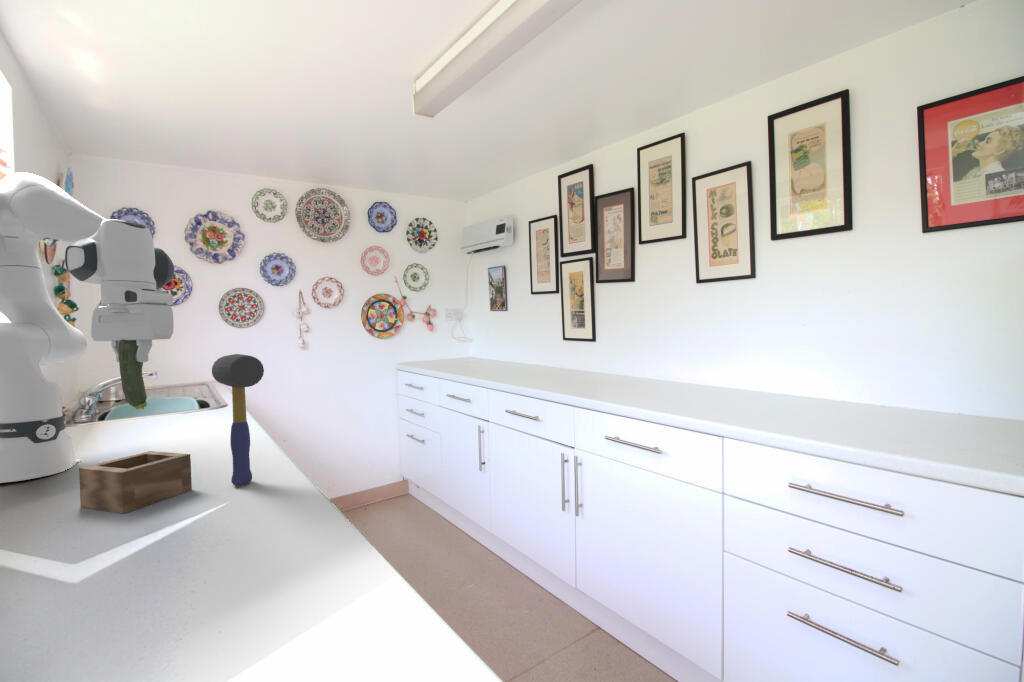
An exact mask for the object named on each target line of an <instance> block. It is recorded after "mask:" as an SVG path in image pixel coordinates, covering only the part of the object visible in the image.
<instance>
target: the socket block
mask: <svg viewBox="0 0 1024 682" xmlns="http://www.w3.org/2000/svg"><path fill="white" fill-rule="evenodd" d="M191 460H192V459H191V454H190V453H181V452H180V453H178V452H170V451H169V452H168V451H167V452H166V451H153V450H150V451H149V450H148V451H144V452H141V453H137V454H132V455H128V456H124V457H119V458H116V459H113V460H112V459H111V460H107V461H103V462H100V463H95V464H91V465H87V466H83V467H79V468H78V474H79V475H78V476H79V496H80V497H79V499H80V508H83V509H89V510H95V511H105V512H111V513H117V514H126V513H130V512H132V511H134V510H138V509H141V508H144V507H146V506H149V505H153V504H155V503H158V502H161V501H164V500H167V499H169V498H173V497H175V496H178V495H181V494H184V493H187V492H190V491H192V490H193V487H192V466H191V465H192V464H191V463H192V462H191Z"/></svg>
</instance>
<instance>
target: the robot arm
mask: <svg viewBox="0 0 1024 682" xmlns="http://www.w3.org/2000/svg"><path fill="white" fill-rule="evenodd" d="M152 236H153V235H152V233H151V229H149V228H148V227H147V226H146V225H143V224H140V223H135V222H131V221H127V220H120V219H115V218H108V219H107V218H105V217H103V216H102V215H100V214H98V213H96V212H94V211H92V210H91V209H89V208H88V207H86V206H84V205H83V204H82V203H80V202H79V201H78V200H76V199H75V198H74V197H72V196H70V195H69V194H68V193H67V192H65V190H64V189H62V188H61V187H59V186H58V185H56V184H55V183H53V182H52V181H50V180H48V179H46V178H45V177H42V176H39V175H36V174H34V173H29V172H14V173H10V174H8V175H6V176H4V177H3V179H1V180H0V313H1V314H3V315H4V316H5V317H6V318H7V319H8V320H9V321H10V322H0V484H3V483H4V484H5V483H12V482H13V483H14V482H19V481H26V480H31V479H37V478H42V477H47V476H52V475H56V474H59V473H63V472H66V471H68V470H67V469H69V468H71V467H72V466H73V465H74V464H75V463H77V462H79V463H81V462H80V461H82V460H81V459H80V458H78V459H76V456H75V455H76V454H75V449H74V441H73V437H72V434H69V433H68V432H66V431H65V429H66V428H67V427H66V426H67V421H66V416H65V415H63V398H62V395H63V394H62V389H61V387H60V386H59V385H58V384H57V383H56V382H53V381H51V380H49V379H47V378H46V377H45V375H44V373H42V370H41V368H40V367H41V366H45V365H58V364H63V363H67V362H70V361H73V360H74V361H75V360H77V359H79V358H80V357H82V356H83V355H84V354H85V352H86V350H87V348H88V347H87V345H88V343H87V342H88V341H87V338H86V336H85V334H84V333H83V332H82V331H81V330H80V329H78V328H77V327H74V325H71V324H70V323H69V322H68V321H67V320H66V319H65V318H64V317H63V315H62V314H61V313H60V312H59V310H58V309H57V308H56V306H55V305H54V303H53V301H52V298H51V296H50V293H49V290H48V287H47V282H46V279H45V275H44V271H43V266H42V264H41V260H40V257H39V254H38V245H39V243H40V242H41V241H43V242H44V243H45V244H46V245H47V246H53V245H55V244H56V242H59V241H60V242H61V241H62V242H68V243H71V244H69V245H67V247H66V249H65V251H64V252H65V253H64V261H65V262H64V263H65V267H66V268H65V269H66V270H67V272H68V273H70V275H71V276H73V277H74V278H75V279H76V280H78V281H79V282H85V283H89V284H95V285H100V298H101V299H100V301H99V302H98V304H96V307H95V308H94V309H93V311H92V315H91V330H90V334H91V335H90V336H91V338H92V340H93V341H94V342H111V348H112V350H113V351H114V354H115V359H116V360H115V361H116V362H117V363H119V352H118V348H119V342H120V340H136V343H137V346H138V350H137V354H134V358H135V359H134V361H135V362H143V363H146V362H148V361H149V353H150V351H151V348H152V346H153V340H158V341H159V340H171V338H172V337H173V334H174V327H175V326H174V312H173V308H172V306H171V305H173V304H174V296H173V294H171V293H169V292H166V291H163V290H160V289H161V288H163V287H165V286H166V285H168V284H169V283H170V282H171V281H172V279H173V278H174V275H175V265H174V263H173V261H172V259H171V258H170V256H169V254H167V253H166V252H165V250H163V249H162V248H159V247H155V245H154V240H153V237H152ZM77 464H78V463H77ZM75 465H76V464H75ZM75 465H74V466H75ZM71 469H72V468H71ZM65 470H66V471H65ZM69 470H70V469H69Z"/></svg>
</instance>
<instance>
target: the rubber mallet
mask: <svg viewBox="0 0 1024 682" xmlns="http://www.w3.org/2000/svg"><path fill="white" fill-rule="evenodd" d="M264 373H265V368H264V364H263V363H262V361H261V360H260V359H258V358H257V357H255V356H253V355H247V354H242V353H241V354H240V353H234V354H229V355H224V356H221V357H219V358H217V359H216V361H214V362H213V365H212V367H211V374H212V377H213V379H214V380H215V381H216V382H217V383H219V384H222V385H225V386H228V387H231V391H232V393H231V396H232V397H231V398H232V422H231V423H232V424H231V427H230V451H231V455H232V456H231V457H232V474H231V483H232V485H233V486H234V487H235V488H242V487H243V488H244V487H247V486H248V485H250V483H252V480H253V473H252V471H251V463H250V459H251V458H250V449H251V433H250V426H249V423H248V421H247V405H246V402H247V401H246V388H248V387H252V386H255V385H257V384H259V382H260V381H261V380H262V378H263V377H264Z"/></svg>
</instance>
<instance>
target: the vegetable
mask: <svg viewBox="0 0 1024 682" xmlns="http://www.w3.org/2000/svg"><path fill="white" fill-rule="evenodd" d="M137 350H138V346H137V343H136V340H120V342H119V348H118V352H119V362H118V363H119V374H120V381H121V386H122V387H121V388H122V392H123V394H124V398H125V400H126V402H127V403H128V404H129V406H132V407H133V408H134V409H135V410H140V409H141V410H144V408H145V407H147V404H148V403H147V398H148V397H147V391H146V388H145V387H146V386H145V382H144V376H143V366H144V362H135V361H134V359H135V358H134V354H137Z"/></svg>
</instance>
